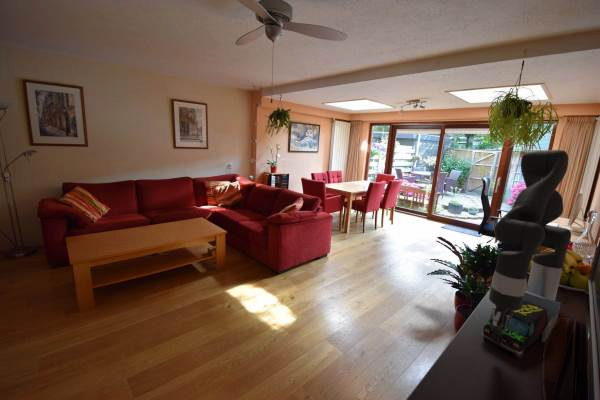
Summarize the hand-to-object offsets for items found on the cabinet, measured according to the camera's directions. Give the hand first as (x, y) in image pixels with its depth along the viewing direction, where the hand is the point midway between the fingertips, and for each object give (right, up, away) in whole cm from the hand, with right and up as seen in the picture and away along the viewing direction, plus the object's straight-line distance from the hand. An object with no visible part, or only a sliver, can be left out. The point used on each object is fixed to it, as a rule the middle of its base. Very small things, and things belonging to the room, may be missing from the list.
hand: (496, 342), depth 79 cm
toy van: (+14, -4, +11) cm, 18 cm away
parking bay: (+25, -3, +20) cm, 32 cm away
